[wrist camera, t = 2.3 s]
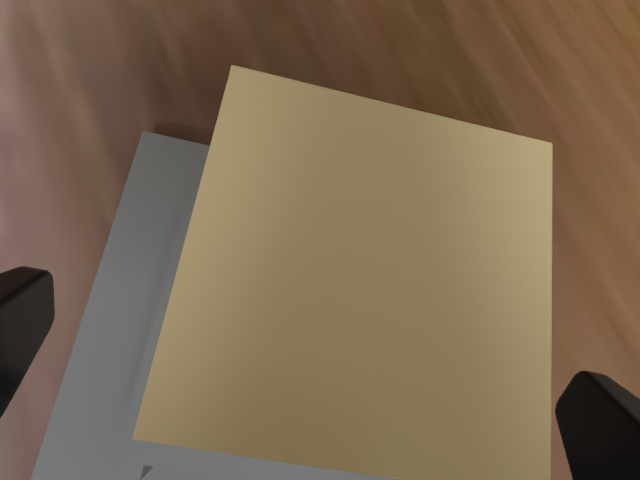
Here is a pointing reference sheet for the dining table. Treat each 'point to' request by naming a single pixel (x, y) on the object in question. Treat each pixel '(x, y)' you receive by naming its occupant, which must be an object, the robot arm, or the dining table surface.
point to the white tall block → (361, 292)
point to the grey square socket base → (139, 341)
